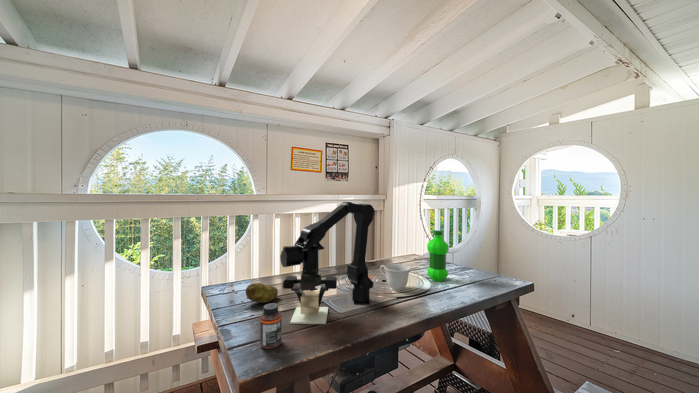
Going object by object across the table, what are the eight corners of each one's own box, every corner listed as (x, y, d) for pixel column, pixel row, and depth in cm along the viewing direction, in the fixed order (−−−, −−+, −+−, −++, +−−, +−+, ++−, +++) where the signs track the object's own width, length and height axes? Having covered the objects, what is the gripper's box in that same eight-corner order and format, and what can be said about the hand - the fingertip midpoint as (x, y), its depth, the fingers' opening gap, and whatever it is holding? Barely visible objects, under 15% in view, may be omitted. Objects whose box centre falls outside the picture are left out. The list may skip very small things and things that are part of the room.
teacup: (386, 281, 134) (386, 261, 134) (414, 287, 125) (414, 266, 125) (373, 288, 124) (373, 266, 124) (403, 295, 115) (404, 272, 115)
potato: (280, 302, 107) (280, 283, 107) (246, 308, 102) (246, 287, 102) (276, 295, 115) (276, 277, 115) (244, 300, 109) (244, 281, 109)
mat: (328, 308, 102) (328, 306, 102) (325, 324, 90) (325, 322, 90) (296, 308, 102) (296, 306, 102) (290, 323, 90) (290, 322, 90)
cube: (319, 306, 99) (319, 290, 99) (318, 314, 93) (318, 297, 93) (303, 306, 99) (303, 290, 99) (300, 314, 93) (300, 297, 93)
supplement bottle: (262, 338, 81) (262, 301, 81) (282, 338, 82) (283, 301, 81) (257, 350, 75) (257, 310, 75) (279, 349, 76) (279, 309, 75)
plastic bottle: (428, 282, 132) (429, 232, 132) (425, 276, 143) (426, 229, 142) (449, 284, 131) (450, 232, 130) (445, 277, 141) (446, 229, 141)
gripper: (278, 269, 88) (278, 316, 88) (335, 269, 88) (335, 316, 88) (286, 260, 99) (286, 302, 99) (337, 260, 99) (336, 302, 99)
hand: (310, 306), depth 96 cm, fingers closed on cube, 6 cm apart
